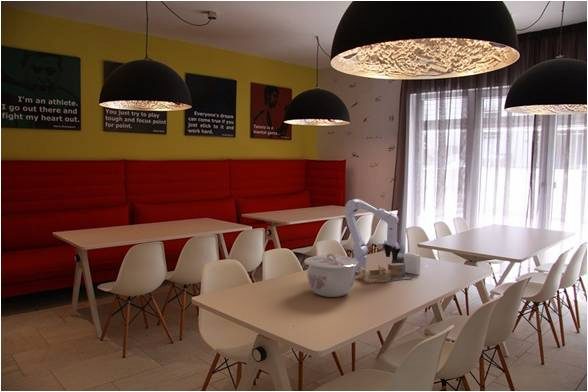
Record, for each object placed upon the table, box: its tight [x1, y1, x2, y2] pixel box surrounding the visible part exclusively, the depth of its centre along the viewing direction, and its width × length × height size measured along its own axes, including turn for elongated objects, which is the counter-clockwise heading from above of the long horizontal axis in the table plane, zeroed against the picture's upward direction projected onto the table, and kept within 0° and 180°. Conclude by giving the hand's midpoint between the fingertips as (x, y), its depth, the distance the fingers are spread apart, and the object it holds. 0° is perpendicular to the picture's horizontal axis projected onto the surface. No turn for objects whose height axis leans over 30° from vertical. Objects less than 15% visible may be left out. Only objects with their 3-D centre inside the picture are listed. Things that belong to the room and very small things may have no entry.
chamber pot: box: [303, 252, 358, 298], centre depth 234 cm, size 28×28×21 cm
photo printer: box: [404, 252, 421, 276], centre depth 276 cm, size 10×4×12 cm, turn 39°
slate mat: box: [390, 274, 412, 281], centre depth 268 cm, size 14×11×1 cm
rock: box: [390, 252, 405, 264], centre depth 292 cm, size 18×11×8 cm, turn 152°
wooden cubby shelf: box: [358, 265, 391, 284], centre depth 262 cm, size 13×13×6 cm
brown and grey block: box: [387, 263, 406, 277], centre depth 267 cm, size 4×9×7 cm, turn 108°
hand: (391, 258), depth 269 cm, fingers open, 7 cm apart
